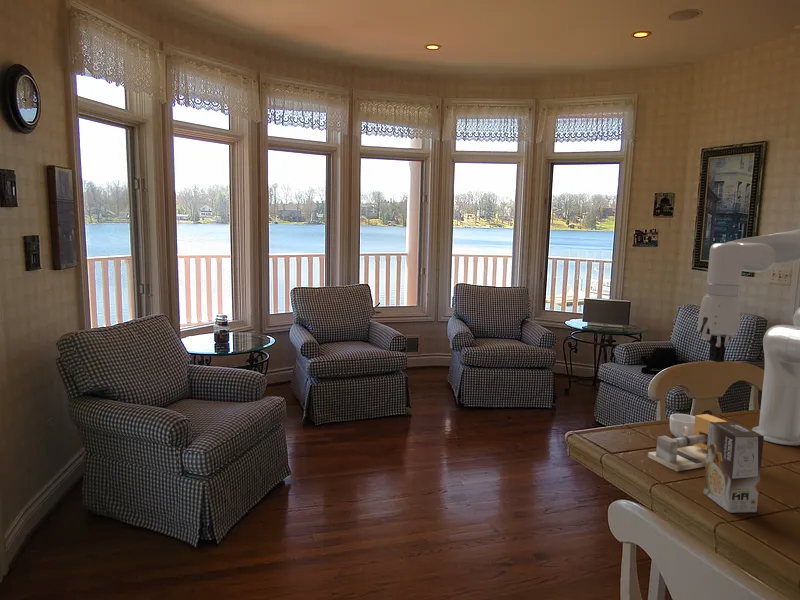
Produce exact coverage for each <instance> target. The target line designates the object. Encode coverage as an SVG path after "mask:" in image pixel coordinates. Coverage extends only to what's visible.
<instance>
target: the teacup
mask: <svg viewBox="0 0 800 600" xmlns="http://www.w3.org/2000/svg"><path fill="white" fill-rule="evenodd" d="M694 423H695V416H694V415H691V414H686V413H672V414H670V415H669V430H670V433H671V434H672V435H673V436H674V438H681V437H685V436H687V437H688V436H693V434H694Z"/></svg>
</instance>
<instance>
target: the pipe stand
mask: <svg viewBox="0 0 800 600" xmlns="http://www.w3.org/2000/svg"><path fill="white" fill-rule="evenodd" d="M656 439H657V440H656V450H654V451H651V452H650V451H649V452H647V458H649V459H651V460H652V461H655V462H657V463H659V464H661V465H663V466H665V467H667V468H669V469H671V470H673V471H675V472H681V471H682V472H683V471H686V470H688V471H689V470H693V469H699V468H705V467H706V454H707V450H705V449H703V448H700V447H698V446H696V445H693V444H698V443H705V442H708V434H702V435H695V436H688V437H687V436H685V437H681V438H677V437H674V438H671V437H669V436H667V435H659V436H657V437H656Z"/></svg>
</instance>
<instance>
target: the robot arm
mask: <svg viewBox="0 0 800 600" xmlns="http://www.w3.org/2000/svg"><path fill="white" fill-rule="evenodd" d="M708 257H709V258H708V268H707V277H706V278H707V280H706V291H705V295H704V296H703V297H702V300H701V304H700V308H699V312H698V319H697V329H696V330H697V332H698V333H701V336H700V338H701V339H702V340H704V341H705V340H706V341H707V342H708V345H709V357H708V359H709V361H712V362H715V363H723V362H724V363H725V359H726V358H725V357H726V348H727V346H728V344H729V342H730V340H733V339H735V338H736V337H737V333H739V332H740V327H741V298H740V297H741V296H740V292H741V282H742V272H748V273H764V272H766V271H768V270H770V269H771V268H772V267H774V265H775V264H795V263H800V228H799V229H795V230H789V231H783V232H776V233H771V234H764V235H758V236H751V237H744V238H739V239H735V240H731V241H726V242H716V243H713V244H712V245H711V246H710V248H709V256H708ZM792 324H793V325H791V324H790V325H789V324H776V325H773V326H770V328H768V329H767V330H766V332H765V333H764V335H763V339H762V347H763V354H764V374H763V382H762V390H761V391H762V393H761V403H760V411H759V419H758V420H759V422H758V425H757V426H754V427H752V428H751V430H753V431H755V432H757V433H759V434H761V435H763V436H764V440H763V441H765V442H769V443H774V444H777V445H778V444H779V445H784V446H785V445H786V446H800V306H799V307H798V308H797V310H796V311H795V312H794V314H793V316H792Z"/></svg>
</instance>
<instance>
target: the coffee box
mask: <svg viewBox="0 0 800 600" xmlns="http://www.w3.org/2000/svg"><path fill="white" fill-rule="evenodd" d="M764 441H765V440H764V436H763V435H761V434H759V433H757V432H755V431H753V430H752V428H748V427H746V426H744V425H742V424H741V423H738V422H737V421H728V422H709V430H708V442H707V454H706V467H704V469H705V470H704V481H703V495H705V496H706V497H707V498H709V499H711V500H712V501H713V502H715V503H716V504H717V505H718V506H719V507H721V508H722V509H724V510H725V511H726V512H728V513H757V510H758V500H759V491H760V481H761V469H762V459H763V448H764Z"/></svg>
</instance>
